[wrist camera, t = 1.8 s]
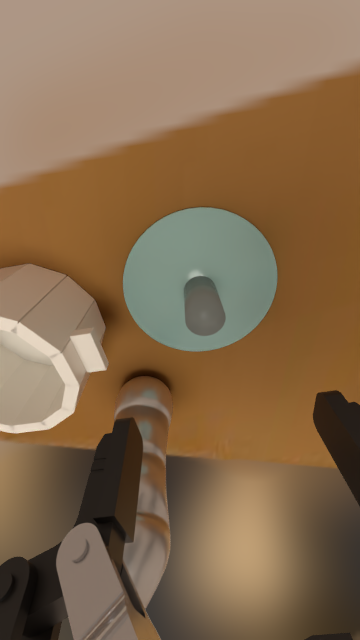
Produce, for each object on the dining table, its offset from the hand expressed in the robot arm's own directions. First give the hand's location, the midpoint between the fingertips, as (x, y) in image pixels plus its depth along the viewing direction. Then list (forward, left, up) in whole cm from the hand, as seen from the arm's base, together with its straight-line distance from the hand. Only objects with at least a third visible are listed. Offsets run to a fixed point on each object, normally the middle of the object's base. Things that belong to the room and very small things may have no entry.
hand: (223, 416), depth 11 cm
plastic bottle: (+8, +12, -14) cm, 20 cm away
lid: (0, 0, -15) cm, 15 cm away
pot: (+16, +1, -14) cm, 21 cm away
